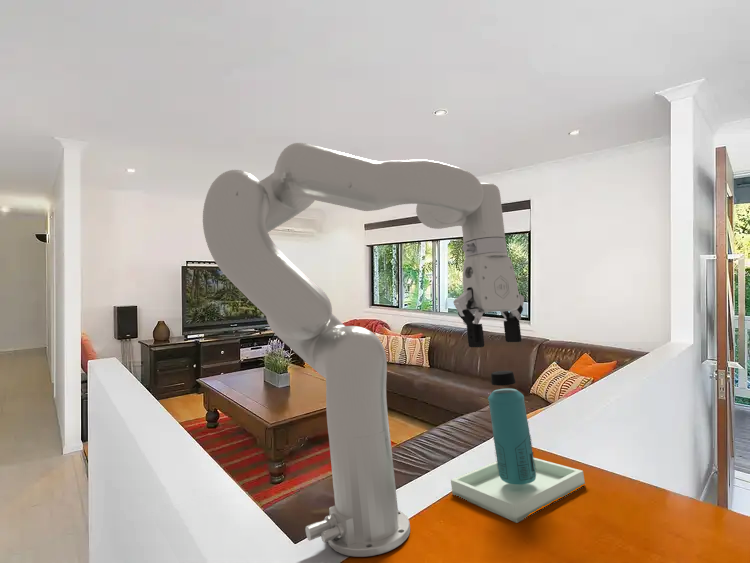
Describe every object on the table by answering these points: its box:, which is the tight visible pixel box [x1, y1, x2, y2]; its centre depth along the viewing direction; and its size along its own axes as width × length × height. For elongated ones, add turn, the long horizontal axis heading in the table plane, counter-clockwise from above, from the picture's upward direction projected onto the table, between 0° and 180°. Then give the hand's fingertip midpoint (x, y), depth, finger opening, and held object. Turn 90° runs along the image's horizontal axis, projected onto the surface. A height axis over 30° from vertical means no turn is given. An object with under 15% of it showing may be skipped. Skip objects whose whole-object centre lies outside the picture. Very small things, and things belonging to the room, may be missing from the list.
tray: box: [450, 456, 586, 524], centre depth 71 cm, size 18×14×2 cm
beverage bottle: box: [487, 370, 537, 485], centre depth 72 cm, size 6×7×20 cm
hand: (495, 344), depth 73 cm, fingers open, 9 cm apart
